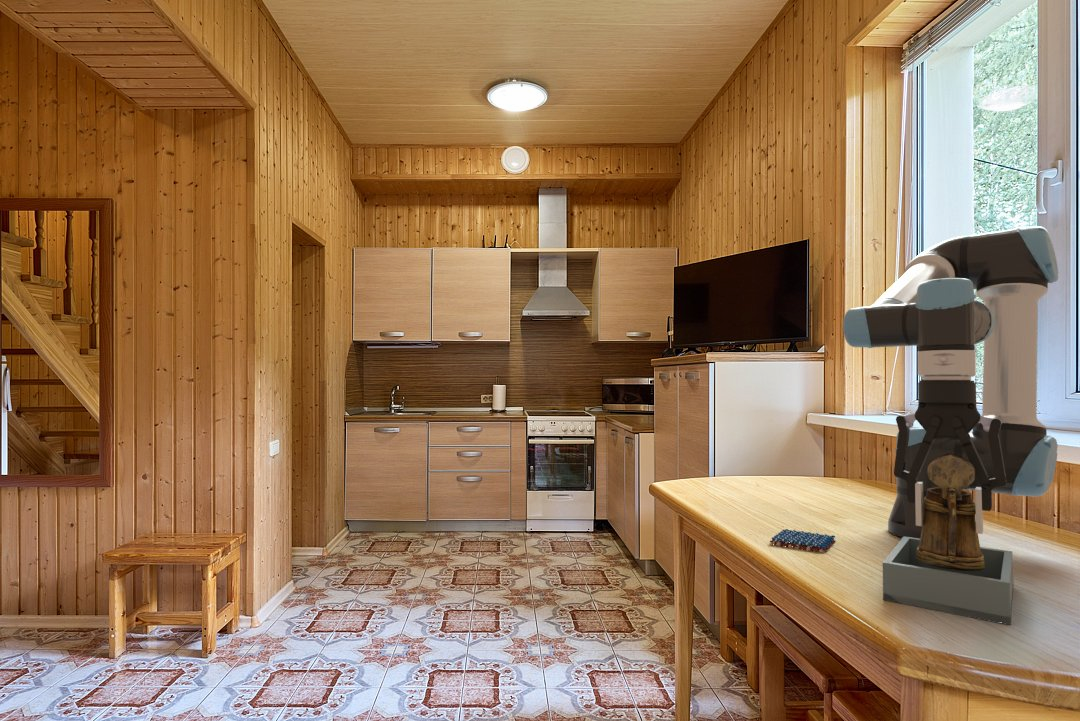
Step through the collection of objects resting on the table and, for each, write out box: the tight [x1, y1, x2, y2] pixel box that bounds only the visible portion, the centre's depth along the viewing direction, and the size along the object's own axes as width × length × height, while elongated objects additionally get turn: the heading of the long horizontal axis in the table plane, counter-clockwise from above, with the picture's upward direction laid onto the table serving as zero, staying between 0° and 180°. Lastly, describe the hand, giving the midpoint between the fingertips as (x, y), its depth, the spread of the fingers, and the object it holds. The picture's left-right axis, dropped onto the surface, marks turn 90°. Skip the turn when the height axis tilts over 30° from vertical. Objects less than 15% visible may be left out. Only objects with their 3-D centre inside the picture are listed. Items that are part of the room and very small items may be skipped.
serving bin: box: [882, 536, 1014, 626], centre depth 94 cm, size 20×15×6 cm
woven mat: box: [769, 528, 836, 554], centre depth 123 cm, size 10×11×2 cm
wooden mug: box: [916, 453, 985, 571], centre depth 94 cm, size 9×14×18 cm, turn 149°
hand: (948, 527), depth 94 cm, fingers closed on wooden mug, 7 cm apart
